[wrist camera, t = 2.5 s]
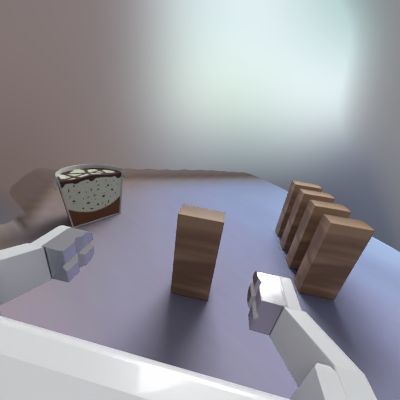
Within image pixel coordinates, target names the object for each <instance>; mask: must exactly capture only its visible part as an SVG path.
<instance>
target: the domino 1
mask: <svg viewBox="0 0 400 400" xmlns="http://www.w3.org/2000/svg"><path fill="white" fill-rule="evenodd" d="M224 218H225V212H220V211H215V210H209V209H204V208H199V207H194V206H188V205H183V206H182V208H181V209H180V211H179V213H178V220H177V230H176V241H175V252H174V263H173V274H172V284H171V293H175V294H179V295H184V296H188V297H192V298H196V299H201V300H205V301H208V297H209V292H210V287H211V283H212V278H213V273H214V268H215V264H216V259H217V254H218V249H219V245H220V240H221V235H222V230H223V225H224Z"/></svg>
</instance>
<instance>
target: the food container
mask: <svg viewBox="0 0 400 400" xmlns="http://www.w3.org/2000/svg"><path fill="white" fill-rule="evenodd" d="M123 177H124V178H126V177H125V173H124V171H123V169H122V168H120V167H116V166H112V165H103V164H83V165H74V166H69V167H65V168H63V169H60V170H58V171H57V172H56V174H55V177H54V185H53V187H54V189H55V190H57V184H58V187H59V190H60V193H61V196H62V199H63V202H64V206H65V209H66V212H67V215H68V218H69V221H70V224H71V227H72V228H77V227H80V226H83V225H86V224H89V223H92V222H95V221H99V220H102V219H105V218H108V217H111V216H114V215H117V214H120V213H121V197H122V181H123Z"/></svg>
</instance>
